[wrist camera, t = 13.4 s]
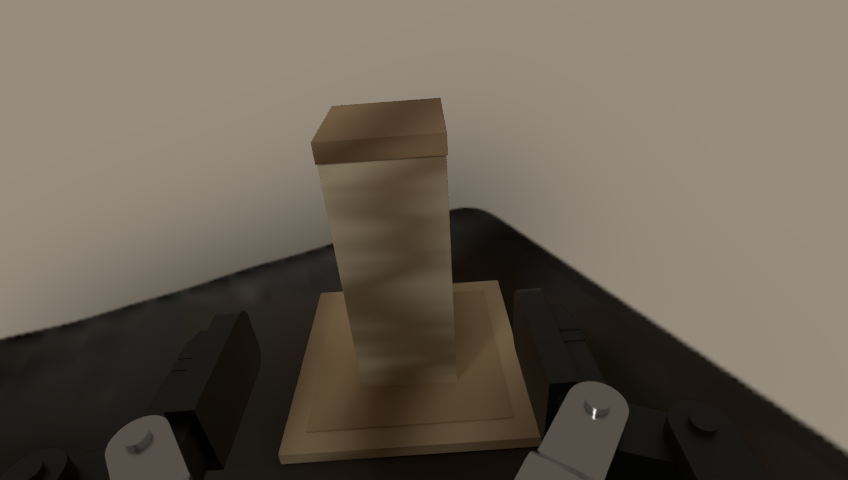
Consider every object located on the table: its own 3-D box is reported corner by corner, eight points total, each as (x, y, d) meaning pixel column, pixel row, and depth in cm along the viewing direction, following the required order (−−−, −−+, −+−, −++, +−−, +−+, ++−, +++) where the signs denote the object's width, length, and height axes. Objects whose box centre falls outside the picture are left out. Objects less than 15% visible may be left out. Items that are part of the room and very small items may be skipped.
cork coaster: (281, 464, 19) (277, 454, 19) (322, 300, 29) (320, 291, 28) (540, 446, 19) (541, 435, 19) (497, 287, 29) (497, 278, 28)
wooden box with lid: (361, 388, 22) (310, 142, 15) (369, 322, 26) (331, 105, 19) (458, 382, 22) (446, 132, 15) (451, 317, 26) (440, 97, 19)
